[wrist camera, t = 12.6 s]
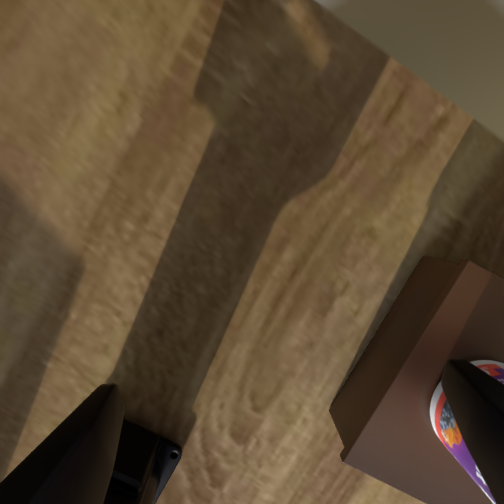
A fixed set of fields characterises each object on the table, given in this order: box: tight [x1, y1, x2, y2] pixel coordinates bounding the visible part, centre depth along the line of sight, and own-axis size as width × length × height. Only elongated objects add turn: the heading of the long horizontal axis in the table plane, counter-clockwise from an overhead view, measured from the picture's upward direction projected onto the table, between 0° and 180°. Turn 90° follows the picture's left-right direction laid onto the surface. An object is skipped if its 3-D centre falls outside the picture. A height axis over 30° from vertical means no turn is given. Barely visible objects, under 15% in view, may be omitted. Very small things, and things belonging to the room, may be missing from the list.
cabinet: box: [329, 256, 504, 504], centre depth 20 cm, size 13×10×5 cm
